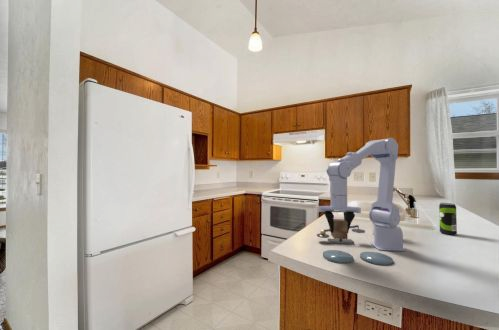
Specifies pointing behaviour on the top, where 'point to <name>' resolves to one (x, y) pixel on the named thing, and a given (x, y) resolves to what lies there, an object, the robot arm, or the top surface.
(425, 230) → the top surface
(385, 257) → the dish
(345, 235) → the walnut block
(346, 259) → the dish
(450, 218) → the beverage can
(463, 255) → the top surface
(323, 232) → the balance
